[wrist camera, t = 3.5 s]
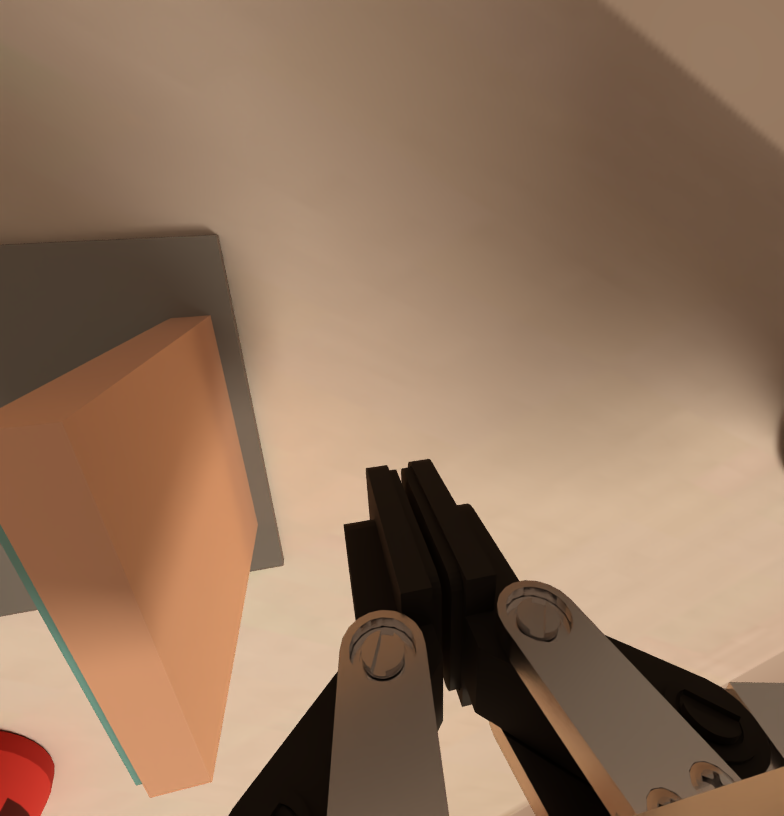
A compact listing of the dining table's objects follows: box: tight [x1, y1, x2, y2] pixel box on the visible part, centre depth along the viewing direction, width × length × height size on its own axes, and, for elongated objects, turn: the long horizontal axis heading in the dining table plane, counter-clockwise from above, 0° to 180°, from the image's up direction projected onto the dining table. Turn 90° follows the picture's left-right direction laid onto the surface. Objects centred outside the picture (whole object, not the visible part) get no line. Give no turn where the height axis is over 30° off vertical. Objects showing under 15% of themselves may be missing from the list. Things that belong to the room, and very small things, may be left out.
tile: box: [0, 315, 258, 798], centre depth 11 cm, size 2×9×9 cm, turn 3°
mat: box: [0, 235, 284, 617], centre depth 14 cm, size 13×14×2 cm
